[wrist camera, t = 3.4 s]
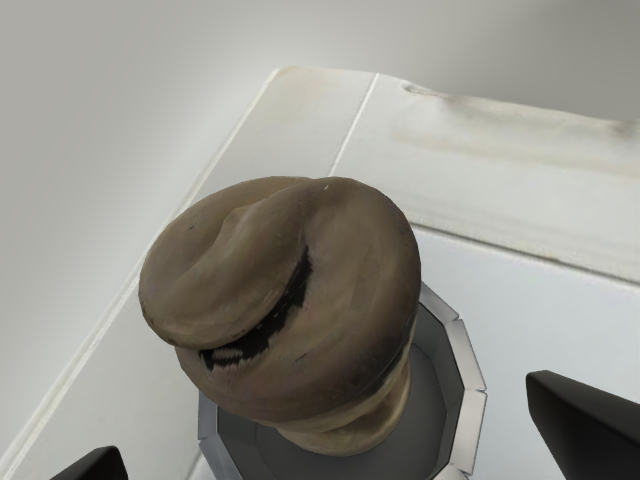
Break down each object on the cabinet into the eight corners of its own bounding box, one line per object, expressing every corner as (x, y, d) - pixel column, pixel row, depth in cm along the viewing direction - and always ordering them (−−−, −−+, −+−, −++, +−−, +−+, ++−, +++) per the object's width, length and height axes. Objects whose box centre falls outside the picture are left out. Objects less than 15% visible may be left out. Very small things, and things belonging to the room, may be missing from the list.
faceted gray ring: (514, 421, 18) (551, 397, 14) (328, 610, 15) (305, 651, 11) (358, 266, 23) (350, 215, 19) (201, 388, 21) (154, 360, 17)
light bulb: (271, 442, 19) (36, 329, 6) (311, 334, 21) (199, 103, 9) (389, 490, 17) (381, 461, 5) (417, 366, 20) (461, 136, 7)
